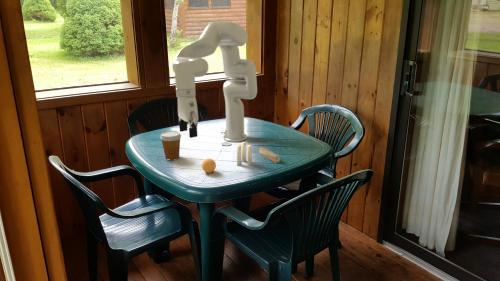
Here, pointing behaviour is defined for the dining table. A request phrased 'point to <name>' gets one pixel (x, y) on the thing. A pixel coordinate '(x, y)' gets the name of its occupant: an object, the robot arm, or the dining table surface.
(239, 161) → the front pin
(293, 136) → the dining table surface
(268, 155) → the back wall
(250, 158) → the back right pin
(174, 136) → the disposable coffee cup
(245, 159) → the back left pin
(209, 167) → the ball
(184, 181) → the dining table surface
